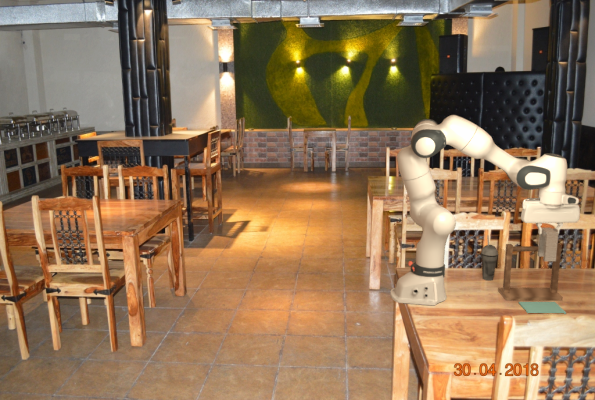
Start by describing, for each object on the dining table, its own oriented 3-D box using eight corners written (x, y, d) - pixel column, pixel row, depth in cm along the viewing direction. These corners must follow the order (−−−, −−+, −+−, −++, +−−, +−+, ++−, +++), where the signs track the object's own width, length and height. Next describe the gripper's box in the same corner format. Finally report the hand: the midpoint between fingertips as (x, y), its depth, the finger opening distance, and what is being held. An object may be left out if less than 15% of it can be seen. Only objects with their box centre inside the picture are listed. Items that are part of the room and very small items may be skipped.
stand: (506, 300, 214) (510, 248, 209) (498, 290, 224) (501, 241, 219) (562, 300, 213) (567, 248, 208) (551, 290, 223) (556, 240, 218)
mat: (528, 313, 202) (528, 312, 202) (518, 303, 212) (518, 301, 211) (566, 314, 201) (566, 312, 201) (554, 303, 211) (554, 301, 211)
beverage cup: (497, 282, 233) (500, 238, 229) (480, 281, 235) (483, 237, 230) (495, 276, 240) (498, 233, 236) (478, 275, 242) (480, 232, 237)
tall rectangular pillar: (544, 261, 199) (547, 232, 196) (537, 255, 205) (539, 227, 203) (555, 261, 198) (558, 232, 196) (548, 255, 205) (550, 227, 203)
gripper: (525, 200, 194) (523, 236, 197) (583, 199, 193) (580, 236, 196) (519, 196, 200) (517, 231, 203) (575, 195, 199) (572, 231, 202)
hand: (548, 233), depth 200 cm, fingers closed on tall rectangular pillar, 4 cm apart
